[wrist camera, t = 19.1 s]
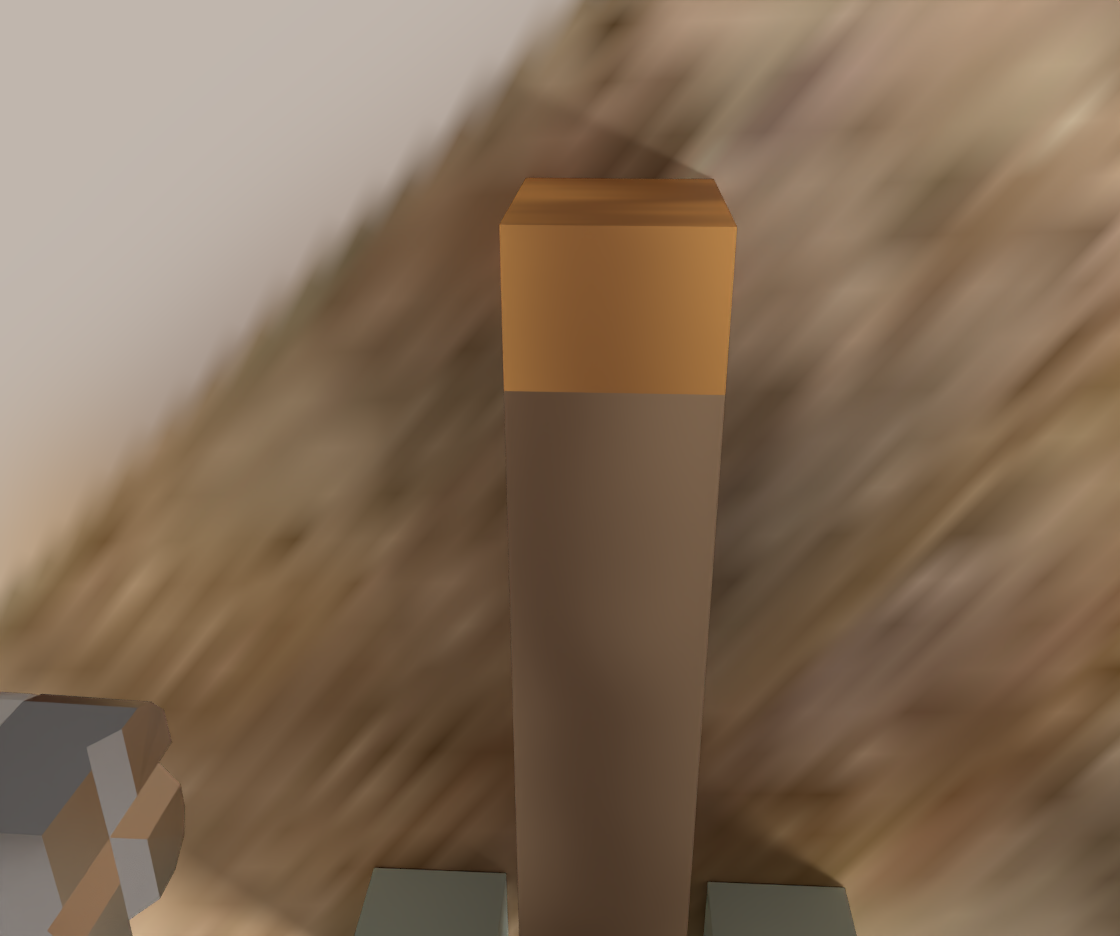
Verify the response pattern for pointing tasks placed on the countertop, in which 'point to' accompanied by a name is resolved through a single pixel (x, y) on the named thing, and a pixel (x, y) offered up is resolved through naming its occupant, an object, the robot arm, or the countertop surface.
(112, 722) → the robot arm
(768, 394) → the countertop surface
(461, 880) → the grey-green arch block
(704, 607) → the bar
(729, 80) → the countertop surface
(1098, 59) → the countertop surface
